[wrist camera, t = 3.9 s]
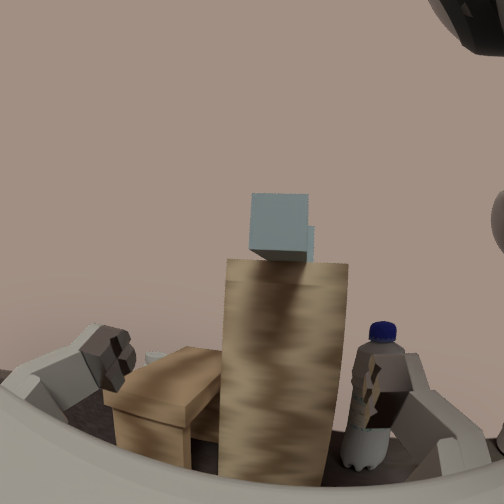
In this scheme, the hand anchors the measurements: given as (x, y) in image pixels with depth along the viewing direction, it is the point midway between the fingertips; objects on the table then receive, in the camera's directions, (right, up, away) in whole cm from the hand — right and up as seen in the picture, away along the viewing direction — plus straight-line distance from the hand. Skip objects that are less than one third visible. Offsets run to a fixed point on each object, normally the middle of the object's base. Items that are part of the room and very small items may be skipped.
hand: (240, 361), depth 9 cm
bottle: (+15, -25, +21) cm, 36 cm away
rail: (+4, +2, +20) cm, 21 cm away
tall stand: (+3, -24, +22) cm, 33 cm away
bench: (-8, -23, +21) cm, 32 cm away
